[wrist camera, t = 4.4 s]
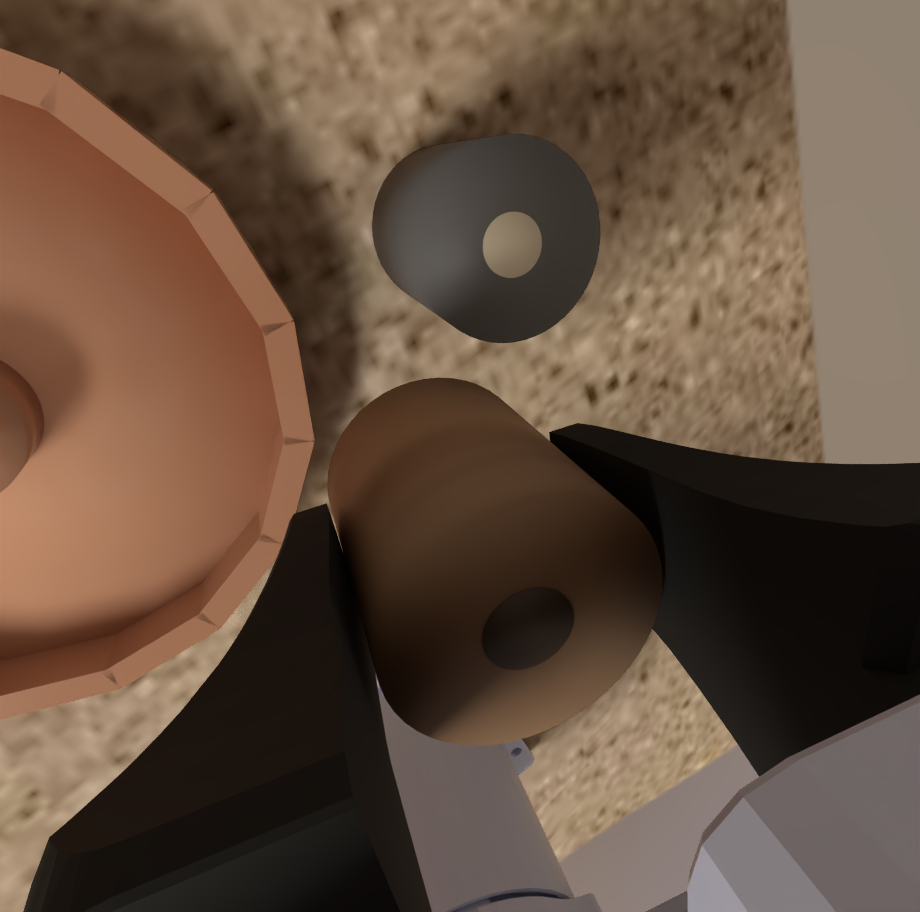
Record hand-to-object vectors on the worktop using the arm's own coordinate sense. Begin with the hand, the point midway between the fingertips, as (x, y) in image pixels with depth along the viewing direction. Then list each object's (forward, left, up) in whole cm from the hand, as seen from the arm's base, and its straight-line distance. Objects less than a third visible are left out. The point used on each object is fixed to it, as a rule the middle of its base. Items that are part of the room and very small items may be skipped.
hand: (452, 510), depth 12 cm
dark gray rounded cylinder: (+3, -4, -9) cm, 10 cm away
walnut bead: (0, 0, -2) cm, 2 cm away
